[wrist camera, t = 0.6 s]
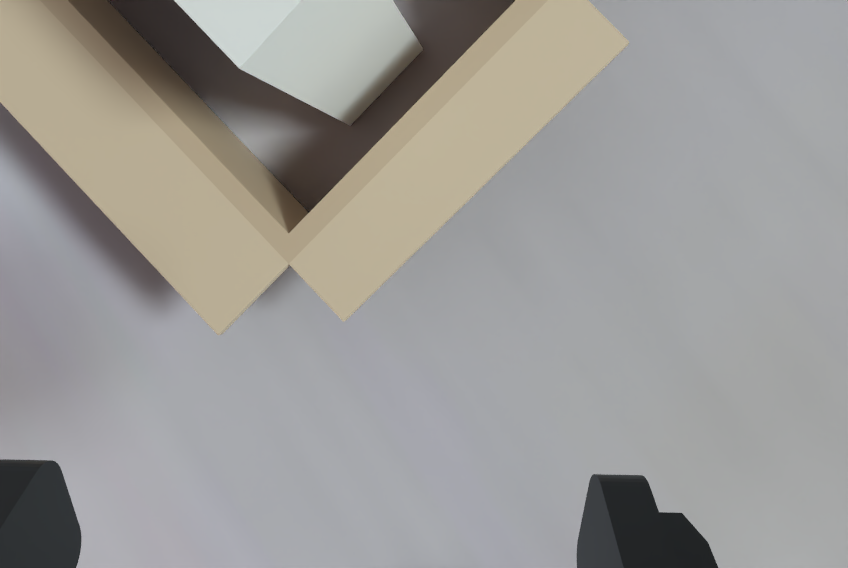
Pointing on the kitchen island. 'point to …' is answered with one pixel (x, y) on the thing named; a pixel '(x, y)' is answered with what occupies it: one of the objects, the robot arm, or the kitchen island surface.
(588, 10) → the carton
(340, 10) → the box
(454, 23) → the kitchen island surface
